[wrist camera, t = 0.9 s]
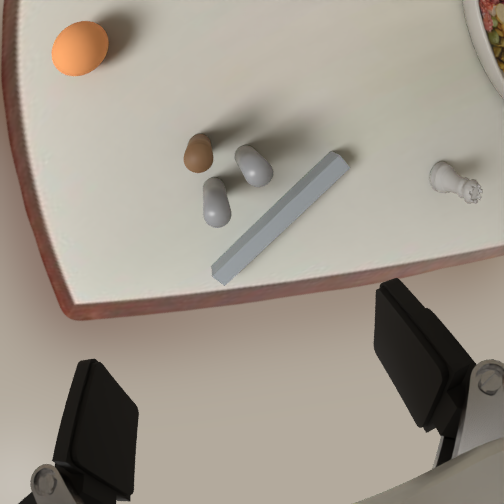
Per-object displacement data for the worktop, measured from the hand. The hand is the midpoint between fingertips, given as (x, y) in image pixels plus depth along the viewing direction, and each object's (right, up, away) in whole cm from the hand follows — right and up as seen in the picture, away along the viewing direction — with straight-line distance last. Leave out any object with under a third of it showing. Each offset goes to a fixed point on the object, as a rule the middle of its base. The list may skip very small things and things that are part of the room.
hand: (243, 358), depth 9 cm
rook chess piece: (+27, +14, +28) cm, 41 cm away
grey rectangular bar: (+3, +8, +27) cm, 28 cm away
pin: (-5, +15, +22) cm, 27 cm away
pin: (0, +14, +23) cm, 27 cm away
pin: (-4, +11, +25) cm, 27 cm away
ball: (-17, +23, +12) cm, 31 cm away
